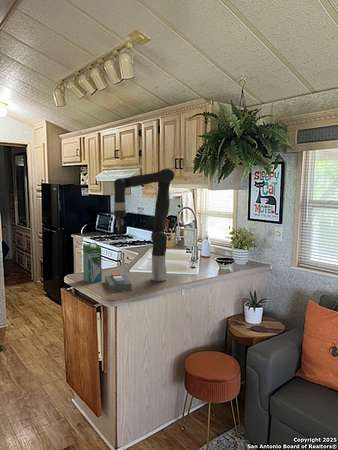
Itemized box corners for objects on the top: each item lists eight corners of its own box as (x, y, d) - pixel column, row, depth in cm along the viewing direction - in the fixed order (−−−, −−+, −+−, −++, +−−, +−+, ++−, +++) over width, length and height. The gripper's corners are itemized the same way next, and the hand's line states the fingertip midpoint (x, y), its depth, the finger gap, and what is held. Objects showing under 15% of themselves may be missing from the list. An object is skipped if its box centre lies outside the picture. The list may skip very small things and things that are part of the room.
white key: (120, 280, 212) (120, 275, 212) (122, 282, 207) (122, 277, 207) (113, 280, 211) (113, 276, 210) (114, 283, 206) (114, 278, 205)
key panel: (124, 280, 222) (124, 274, 221) (131, 290, 201) (131, 283, 201) (105, 281, 217) (104, 276, 217) (110, 292, 197) (110, 285, 196)
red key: (118, 276, 219) (118, 272, 218) (120, 278, 214) (120, 274, 214) (111, 277, 217) (111, 273, 217) (112, 279, 213) (112, 275, 212)
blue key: (123, 282, 205) (123, 278, 205) (124, 285, 201) (124, 280, 200) (115, 283, 204) (115, 278, 203) (116, 285, 199) (116, 280, 199)
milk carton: (88, 283, 213) (88, 245, 210) (83, 280, 221) (82, 243, 218) (101, 281, 219) (101, 244, 216) (96, 278, 226) (95, 242, 223)
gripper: (127, 210, 209) (128, 237, 211) (123, 208, 221) (123, 234, 223) (116, 210, 206) (116, 237, 208) (112, 208, 218) (112, 234, 221)
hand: (120, 235), depth 216 cm, fingers closed
